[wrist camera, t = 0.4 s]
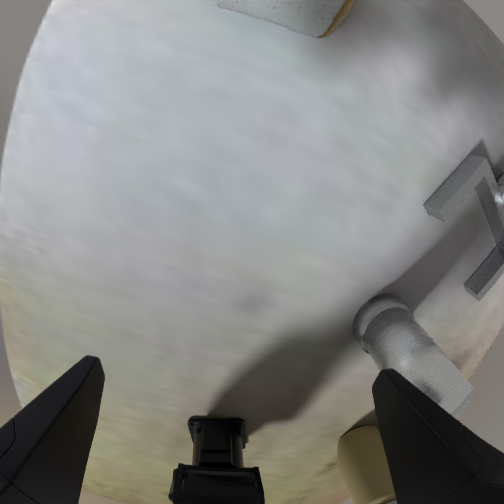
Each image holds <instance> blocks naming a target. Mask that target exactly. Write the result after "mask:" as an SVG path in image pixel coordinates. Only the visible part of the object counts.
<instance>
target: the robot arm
mask: <svg viewBox="0 0 504 504" xmlns="http://www.w3.org/2000/svg"><path fill="white" fill-rule="evenodd" d="M104 381H105V375H104V371H103V368H102V365H101V361H100V359H99V358H98V357H96V356H90V355H87V356H85V357H83V358H82V359H81V360H80V361H79V362H77V363H76V364H75V365H74V366H73V367H71V368H70V369H69V370H68V371H67V372H65V373H64V374H63V375H62V376H61V377H59V378H58V379H57V380H56V381H55V382H53V383H52V384H51V385H50V386H49V387H48V388H46V389H45V390H44V391H43V392H42V393H40V394H39V395H38V396H37V397H36V398H35V399H33V400H32V401H31V402H30V403H29V404H28V405H26V406H25V407H24V408H23V409H22V410H21V411H20V412H18V413H17V414H16V415H15V416H14V418H12V419H10V420H9V421H8V422H7V423H6V424H4V425H3V426H2V427H1V428H0V504H78V502H79V497H80V492H81V487H82V483H83V478H84V473H85V469H86V465H87V461H88V456H89V452H90V448H91V445H92V441H93V437H94V433H95V430H96V426H97V422H98V416H99V410H100V404H101V398H102V392H103V387H104ZM372 393H373V398H374V404H375V410H376V416H377V423H378V428H379V432H380V436H381V439H382V443H383V447H384V451H385V455H386V459H387V463H388V467H389V471H390V475H391V479H392V483H393V488H394V492H395V497H396V501H397V504H504V453H503V452H501V451H499V450H498V449H496V448H495V447H493V446H492V445H490V444H488V443H487V442H486V441H484V440H483V439H481V438H480V437H478V436H477V435H476V434H474V433H473V432H472V431H471V430H469V429H468V428H467V427H466V426H464V425H462V423H461V422H459V421H458V420H457V419H456V418H454V417H453V416H452V415H451V414H449V413H448V412H447V411H446V410H444V409H443V408H442V407H441V406H439V405H438V404H437V403H436V402H434V401H433V400H432V399H431V398H430V397H428V396H427V395H426V394H425V393H423V392H422V391H421V390H420V389H418V388H417V387H416V386H415V385H413V384H412V383H411V382H410V381H408V380H407V379H406V378H405V377H403V376H402V375H401V374H400V373H399V372H397V371H396V370H395V369H393V368H387V369H382V370H381V371H380V373H379V374H378V376H377V378H376V380H375V382H374V383H373V386H372ZM188 427H189V430H190V434H191V438H192V441H193V444H194V445H193V461H192V465H185V464H182V463H179V465H178V468H177V469H174V471H173V480H172V485H171V488H170V492H169V500H170V501H171V502H172V503H173V504H265V499H264V491H263V486H262V481H261V477H260V472H259V468H258V467H253V468H244V465H243V451H242V449H244V448H245V429H244V420H243V419H189V420H188Z"/></svg>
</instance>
